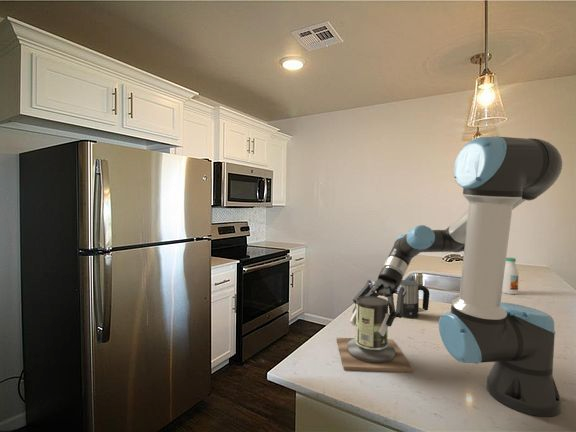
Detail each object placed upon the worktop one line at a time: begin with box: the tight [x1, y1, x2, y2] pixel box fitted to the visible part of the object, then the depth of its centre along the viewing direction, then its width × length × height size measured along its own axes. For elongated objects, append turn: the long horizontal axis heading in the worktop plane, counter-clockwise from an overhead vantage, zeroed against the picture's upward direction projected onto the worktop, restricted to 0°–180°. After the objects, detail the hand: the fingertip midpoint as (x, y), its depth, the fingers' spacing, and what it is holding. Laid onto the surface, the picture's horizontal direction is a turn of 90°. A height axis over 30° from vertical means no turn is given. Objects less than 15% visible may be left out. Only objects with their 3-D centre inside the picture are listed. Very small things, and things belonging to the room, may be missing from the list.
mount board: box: [336, 337, 414, 373], centre depth 101 cm, size 20×20×2 cm
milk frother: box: [399, 279, 430, 319], centre depth 142 cm, size 14×16×15 cm
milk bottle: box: [502, 257, 519, 295], centre depth 176 cm, size 8×8×20 cm
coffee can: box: [355, 296, 389, 350], centre depth 101 cm, size 10×10×14 cm
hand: (366, 328), depth 99 cm, fingers open, 10 cm apart
